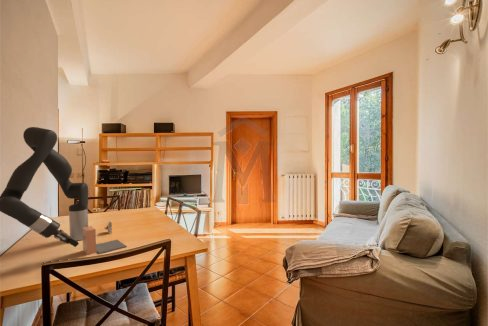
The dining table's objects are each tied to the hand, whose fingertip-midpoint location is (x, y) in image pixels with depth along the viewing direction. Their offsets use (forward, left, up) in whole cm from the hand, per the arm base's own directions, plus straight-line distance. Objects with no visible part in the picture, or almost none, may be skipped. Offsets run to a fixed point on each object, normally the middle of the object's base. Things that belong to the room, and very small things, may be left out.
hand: (77, 244), depth 122 cm
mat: (0, +14, -5) cm, 15 cm away
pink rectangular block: (0, +5, -5) cm, 7 cm away
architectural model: (-27, +22, -6) cm, 35 cm away
